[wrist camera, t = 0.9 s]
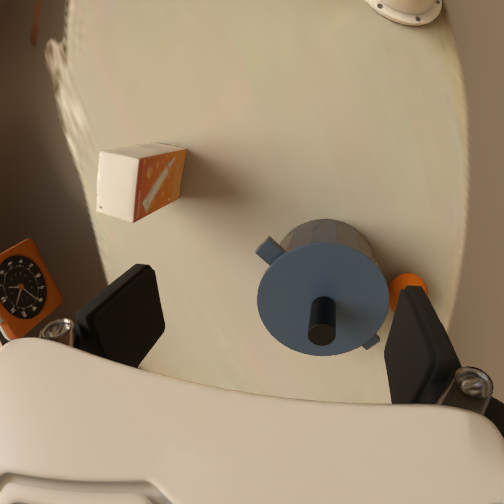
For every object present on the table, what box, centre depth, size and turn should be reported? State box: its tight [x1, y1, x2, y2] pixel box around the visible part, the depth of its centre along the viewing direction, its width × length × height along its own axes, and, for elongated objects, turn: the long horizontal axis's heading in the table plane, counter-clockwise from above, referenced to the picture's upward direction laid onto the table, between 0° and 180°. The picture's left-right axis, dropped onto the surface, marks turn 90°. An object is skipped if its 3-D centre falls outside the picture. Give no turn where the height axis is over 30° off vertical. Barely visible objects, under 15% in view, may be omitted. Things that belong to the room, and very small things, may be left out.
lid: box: [257, 242, 389, 356], centre depth 33 cm, size 16×16×7 cm
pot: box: [255, 219, 380, 350], centre depth 39 cm, size 15×21×10 cm
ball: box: [388, 273, 428, 312], centre depth 39 cm, size 6×6×6 cm
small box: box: [96, 142, 187, 223], centre depth 38 cm, size 8×6×13 cm
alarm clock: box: [0, 239, 63, 340], centre depth 53 cm, size 18×9×21 cm, turn 23°
